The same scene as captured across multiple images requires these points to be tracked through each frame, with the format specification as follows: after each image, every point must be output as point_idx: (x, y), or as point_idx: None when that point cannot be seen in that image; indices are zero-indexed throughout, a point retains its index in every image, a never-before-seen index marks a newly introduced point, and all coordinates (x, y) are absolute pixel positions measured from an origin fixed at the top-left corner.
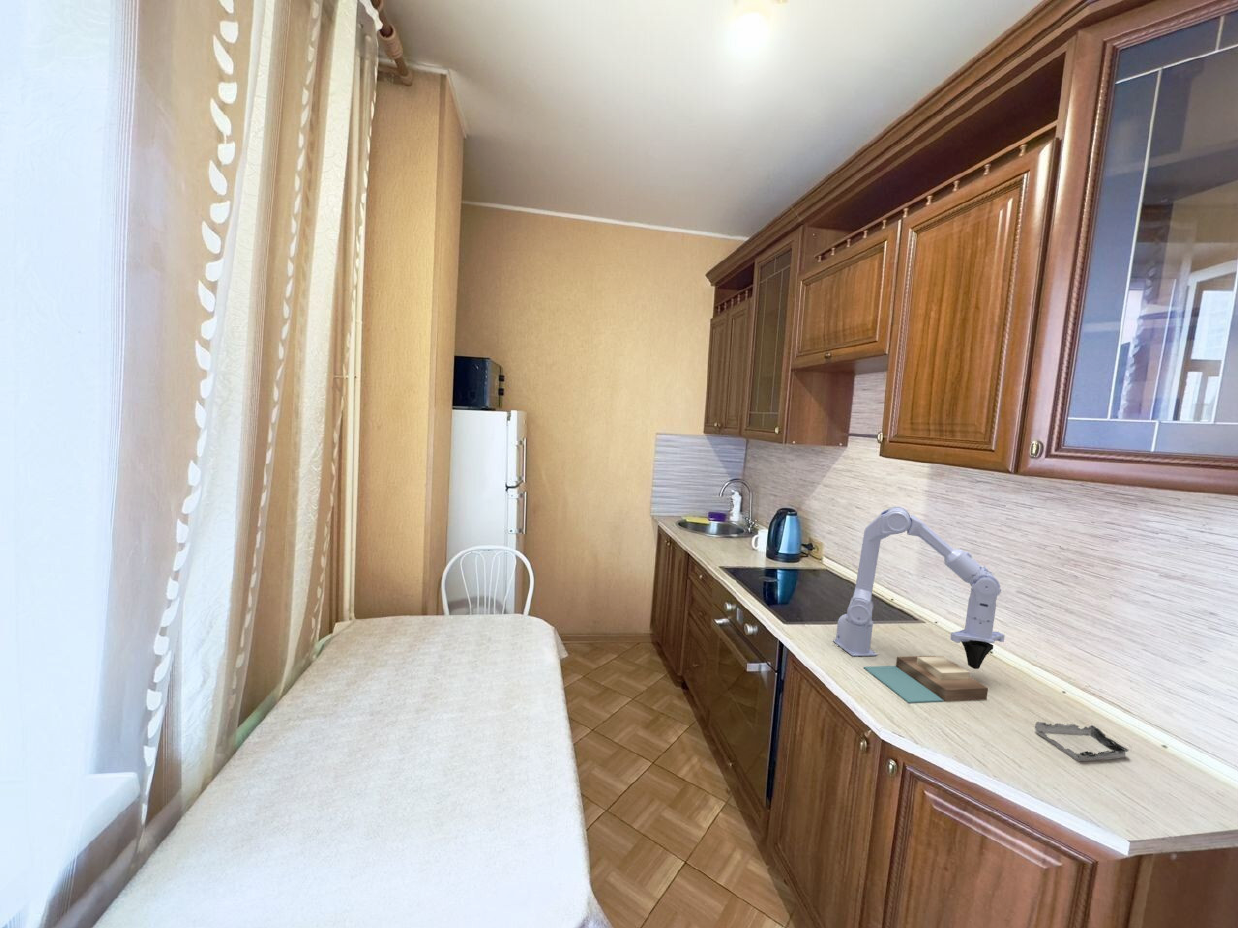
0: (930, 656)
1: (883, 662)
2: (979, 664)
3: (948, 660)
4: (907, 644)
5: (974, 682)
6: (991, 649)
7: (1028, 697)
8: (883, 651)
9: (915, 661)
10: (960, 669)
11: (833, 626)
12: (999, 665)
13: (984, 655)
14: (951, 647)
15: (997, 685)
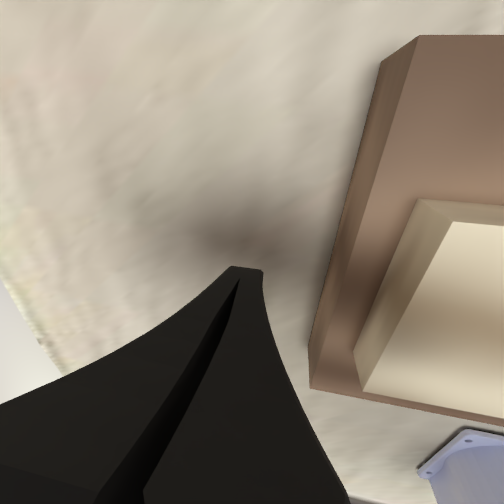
0: (340, 390)
1: None
2: (230, 281)
3: (392, 361)
4: None
5: (425, 151)
6: (31, 400)
7: (75, 62)
8: (394, 428)
9: None
10: (480, 269)
11: (386, 500)
12: (51, 295)
13: (173, 334)
14: None
15: (159, 193)
